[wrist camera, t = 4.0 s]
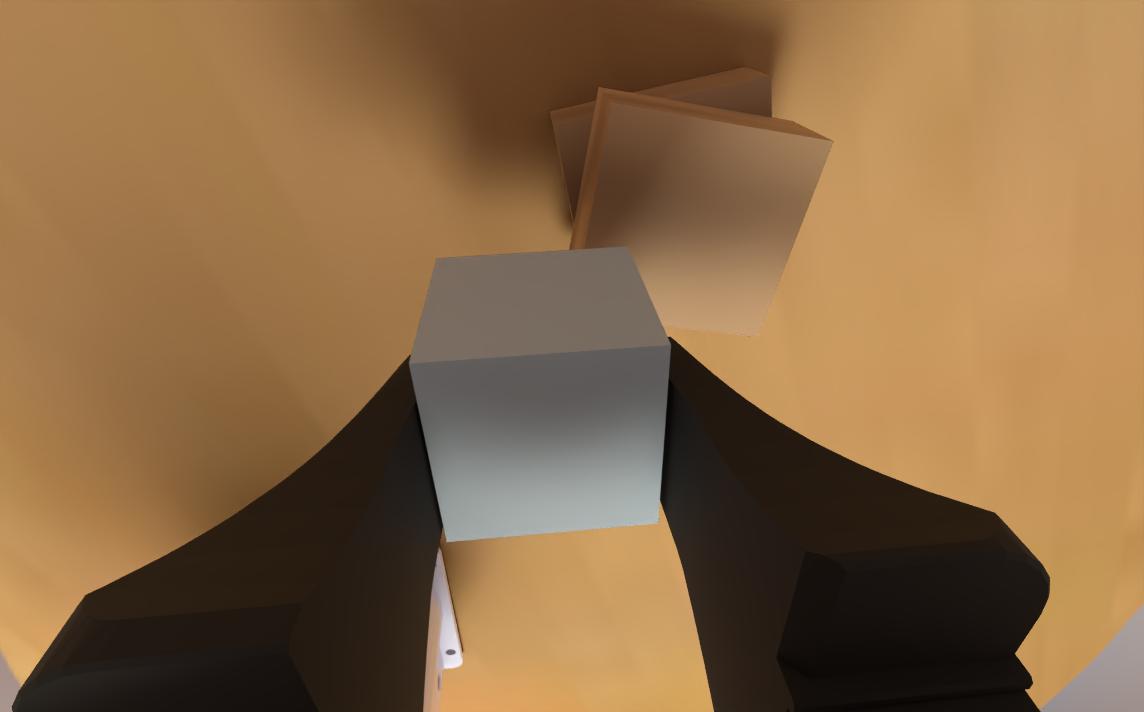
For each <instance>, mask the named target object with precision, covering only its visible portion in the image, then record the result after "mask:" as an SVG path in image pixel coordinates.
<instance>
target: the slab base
mask: <svg viewBox="0 0 1144 712" xmlns="http://www.w3.org/2000/svg"><path fill="white" fill-rule="evenodd" d="M631 93H636V94H642V95H647V96H653V97H659V98H664V99H670V100H676V101H681V102H687V103H693V104H698V105H704V106H710V107H715V108H721V109H726V110H732V111H738V112H743V113H749V114H755V115H760V116H766V117H772V111H771V75H768V74H766V73H763V72H760V71H757V70H754V69H751V68H749V67H746V66H745V67H741V68H736V69H732V70H727V71H723V72H719V73H714V74H710V75H706V76H701V77H697V78H692V79H688V80H684V81H679V82H675V83H671V84H666V85H662V86H658V87H653V88H649V89H644V90H640V91H636V92H631ZM595 104H596V101H592V102H588V103H583V104H579V105H575V106H570V107H566V108H561V109H557V110H553V111H550V116H551V121H552V126H553V131H554V136H555V140H556V145H557V150H558V155H559V160H560V165H561V170H562V174H563V179H564V184H565V189H566V194H567V199H568V204H569V209H570V213H571V218H572V223H573V226H574V221H575V215H576V210H577V204H578V199H579V193H580V187H581V182H582V176H583V171H584V165H585V159H586V154H587V148H588V143H589V137H590V132H591V126H592V120H593V115H594V109H595Z"/></svg>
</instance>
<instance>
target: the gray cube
mask: <svg viewBox="0 0 1144 712" xmlns="http://www.w3.org/2000/svg"><path fill="white" fill-rule="evenodd" d="M670 352H671V344H670V342H669V339H668V337H667V335H666V332H665V330H664V328H663V326H662V323H661V321H660V319H659V316H658V314H657V312H656V310H655V307H654V305H653V303H652V301H651V298H650V296H649V294H648V291H647V289H646V287H645V285H644V282H643V280H642V278H641V276H640V273H639V271H638V269H637V266H636V264H635V262H634V260H633V257H632V255H631V253H630V251H629V248H628V246H627V247H611V248H595V249H578V250H562V251H546V252H529V253H513V254H497V255H480V256H464V257H448V258H437V259H436V262H435V266H434V270H433V274H432V278H431V281H430V285H429V289H428V293H427V297H426V300H425V304H424V308H423V312H422V315H421V319H420V323H419V327H418V331H417V334H416V338H415V342H414V346H413V350H412V353H411V357H410V361H409V367H410V372H411V376H412V381H413V386H414V390H415V395H416V400H417V404H418V409H419V414H420V419H421V423H422V428H423V433H424V437H425V442H426V447H427V451H428V456H429V461H430V466H431V470H432V475H433V480H434V484H435V489H436V494H437V498H438V503H439V508H440V512H441V517H442V522H443V527H444V531H445V536H446V541H447V542H455V541H466V540H477V539H488V538H500V537H511V536H522V535H533V534H545V533H556V532H567V531H578V530H589V529H601V528H612V527H623V526H634V525H645V524H657V523H658V518H659V504H660V490H661V476H662V462H663V448H664V435H665V421H666V407H667V393H668V379H669V365H670Z"/></svg>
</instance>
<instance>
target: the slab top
mask: <svg viewBox="0 0 1144 712" xmlns="http://www.w3.org/2000/svg"><path fill="white" fill-rule="evenodd" d="M833 142H834V141H832V140H830V139H828V138H826V137H824V136H822V135H820V134H818V133H816V132H814V131H811V130H809V129H807V128H805V127H803V126H801V125H799V124H797V123H795V122H793V121H789V120H783V119H777V118H772V117H766V116H760V115H755V114H749V113H743V112H738V111H732V110H726V109H721V108H715V107H710V106H704V105H698V104H693V103H687V102H681V101H676V100H670V99H664V98H659V97H653V96H647V95H642V94H636V93H630V92H625V91H619V90H613V89H608V88H602V87H598V93H597V98H596V104H595V109H594V115H593V120H592V126H591V132H590V137H589V143H588V148H587V154H586V159H585V165H584V171H583V176H582V182H581V187H580V193H579V199H578V204H577V210H576V215H575V221H574V226H573V232H572V238H571V243H570V249H569V250H578V249H595V248H611V247H627V246H628V248H629V251H630V253H631V255H632V257H633V260H634V262H635V264H636V266H637V269H638V271H639V273H640V276H641V278H642V280H643V282H644V285H645V287H646V289H647V291H648V294H649V296H650V298H651V301H652V303H653V305H654V307H655V310H656V312H657V314H658V316H659V319H660V321H661V323H662V326H663V327H672V328H681V329H690V330H699V331H708V332H717V333H726V334H735V335H744V336H753V337H758V336H759V333H760V330H761V328H762V325H763V323H764V320H765V317H766V315H767V312H768V310H769V307H770V305H771V302H772V299H773V297H774V294H775V292H776V289H777V286H778V284H779V281H780V279H781V276H782V273H783V271H784V268H785V266H786V263H787V261H788V258H789V255H790V253H791V250H792V248H793V245H794V242H795V240H796V237H797V235H798V232H799V229H800V227H801V224H802V222H803V219H804V217H805V214H806V211H807V209H808V206H809V204H810V201H811V198H812V196H813V193H814V191H815V188H816V185H817V183H818V180H819V178H820V175H821V173H822V170H823V167H824V165H825V162H826V160H827V157H828V154H829V152H830V149H831V147H832V144H833Z"/></svg>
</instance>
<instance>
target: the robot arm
mask: <svg viewBox="0 0 1144 712" xmlns="http://www.w3.org/2000/svg"><path fill="white" fill-rule="evenodd" d="M668 339H669V342H670V344H671V352H670V365H669V379H668V393H667V407H666V421H665V435H664V448H663V462H662V476H661V490H660V501H661V504H662V507H663V510H664V513H665V516H666V518H667V521H668V524H669V527H670V530H671V533H672V536H673V539H674V541H675V544H676V547H677V550H678V554H679V557H680V560H681V564H682V567H683V571H684V575H685V579H686V584H687V588H688V592H689V596H690V601H691V605H692V609H693V614H694V618H695V623H696V627H697V632H698V636H699V641H700V646H701V650H702V655H703V659H704V664H705V669H706V674H707V679H708V684H709V688H710V693H711V698H712V703H713V708H714V712H1040V710H1039V709H1038V708H1037V706H1036V705H1035V703H1034V702H1033V701H1032V699H1031V698H1030V697H1029V695H1028V694H1027V692H1026V691H1025V689H1030V687H1031V686H1032V684H1033V681H1032V677H1031V675H1030V674H1029V672H1028V671H1027V670H1026V668H1025V667H1024V666H1023V664H1022V663H1021V662H1020V660H1019V659H1018V658H1017V656H1016V655H1015V653H1016V651H1017V650H1018V648H1019V647H1020V645H1021V644H1022V642H1023V641H1024V639H1025V638H1026V636H1027V635H1028V633H1029V632H1030V630H1031V629H1032V627H1033V626H1034V624H1035V623H1036V621H1037V620H1038V618H1039V617H1040V615H1041V613H1042V611H1043V609H1044V607H1045V605H1046V602H1047V600H1048V597H1049V593H1050V577H1049V575H1048V573H1047V572H1046V570H1045V568H1044V566H1043V565H1042V563H1041V562H1040V561H1039V560H1038V559H1037V558H1036V557H1035V556H1034V555H1033V554H1032V552H1031V551H1030V550H1029V549H1028V548H1027V547H1026V546H1025V545H1024V544H1023V543H1022V541H1021V540H1020V539H1019V538H1018V537H1017V536H1016V535H1015V534H1014V533H1013V531H1012V530H1011V529H1010V528H1009V527H1008V526H1007V525H1006V524H1005V523H1004V522H1003V521H1002V519H1001V518H1000V517H999V516H998V515H997V514H996V513H994V512H991V511H988V510H985V509H981V508H978V507H975V506H972V505H969V504H966V503H963V502H959V501H956V500H953V499H950V498H947V497H944V496H941V495H937V494H934V493H931V492H928V491H925V490H923V489H920V488H917V487H914V486H912V485H909V484H907V483H904V482H902V481H899V480H896V479H894V478H891V477H889V476H886V475H883V474H881V473H879V472H876V471H874V470H872V469H869V468H867V467H865V466H862V465H860V464H858V463H856V462H854V461H852V460H849V459H847V458H845V457H843V456H841V455H839V454H837V453H835V452H833V451H831V450H829V449H827V448H825V447H823V446H821V445H819V444H817V443H815V442H813V441H811V440H810V439H808V438H806V437H804V436H803V435H801V434H799V433H797V432H796V431H794V430H792V429H791V428H789V427H787V426H785V425H784V424H782V423H780V422H779V421H777V420H776V419H774V418H773V417H771V416H769V415H768V414H766V413H765V412H763V411H762V410H761V409H759V408H758V407H756V406H755V405H753V404H752V403H751V402H749V401H748V400H746V399H745V398H744V397H742V396H741V395H740V394H738V393H737V392H736V391H734V390H733V389H732V388H730V387H729V386H728V385H727V384H725V383H724V382H723V381H722V380H720V379H719V378H718V377H717V376H715V375H714V374H713V373H712V372H711V371H709V370H708V369H707V368H706V367H705V366H703V365H702V364H701V363H700V362H699V361H698V360H697V359H695V358H694V357H693V356H692V355H691V354H690V353H689V352H687V351H686V350H685V349H684V348H683V347H682V346H681V345H680V344H678V343H677V342H676V341H675V340H674V339H673V338H671V337H668ZM410 357H411V355H409V357H408V358H407V359H406V360H405V361H404V362H403V363H402V364H401V365H400V366H399V368H398V369H397V370H396V371H395V372H394V373H393V375H392V376H391V377H390V378H389V379H388V380H387V382H386V383H385V384H384V385H383V386H382V387H381V389H380V390H379V391H378V392H377V393H376V394H375V395H374V397H373V398H372V399H371V400H370V401H369V402H368V403H367V404H366V405H365V406H364V408H363V409H362V410H361V411H360V412H359V413H358V414H357V415H356V416H355V417H354V418H353V419H352V420H351V421H350V422H349V423H348V424H347V425H346V426H345V427H344V428H343V429H342V430H341V431H340V432H339V433H338V434H337V435H336V436H335V437H334V438H333V439H332V440H331V441H330V442H329V443H328V444H327V445H326V446H325V447H323V448H322V449H321V450H320V451H319V452H318V453H317V454H315V455H314V456H313V457H312V458H311V459H310V460H308V461H307V462H306V463H305V464H304V465H302V466H301V467H300V468H299V469H297V470H296V471H295V472H294V473H292V474H291V475H290V476H289V477H287V478H286V479H285V480H283V481H282V482H281V483H279V484H278V485H277V486H275V487H274V488H272V489H271V490H269V491H268V492H266V493H265V494H264V495H262V496H261V497H259V498H258V499H256V500H255V501H254V502H252V503H251V504H249V505H248V506H246V507H245V508H243V509H242V510H241V511H239V512H238V513H236V514H235V515H233V516H232V517H230V518H228V519H227V520H225V521H224V522H222V523H220V524H219V525H217V526H215V527H214V528H212V529H211V530H209V531H207V532H206V533H204V534H202V535H200V536H199V537H197V538H195V539H193V540H192V541H190V542H188V543H186V544H185V545H183V546H181V547H180V548H178V549H176V550H174V551H172V552H170V553H169V554H167V555H165V556H163V557H161V558H159V559H157V560H155V561H153V562H151V563H149V564H147V565H146V566H144V567H142V568H140V569H138V570H136V571H134V572H132V573H130V574H128V575H126V576H124V577H122V578H120V579H118V580H116V581H114V582H112V583H110V584H108V585H106V586H104V587H102V588H100V589H97V590H95V591H93V592H91V593H89V594H87V595H85V597H84V598H83V599H82V601H81V602H80V603H79V605H78V606H77V608H76V609H75V611H74V612H73V613H72V615H71V616H70V618H69V619H68V621H67V622H66V624H65V625H64V626H63V628H62V629H61V631H60V632H59V634H58V635H57V637H56V638H55V639H54V641H53V642H52V644H51V645H50V647H49V648H48V650H47V651H46V652H45V654H44V655H43V657H42V658H41V660H40V661H39V663H38V664H37V665H36V667H35V668H34V670H33V671H32V673H31V674H30V676H29V677H28V678H27V680H26V681H25V683H24V684H23V686H22V687H21V689H20V690H19V692H18V694H17V696H16V699H15V701H14V703H13V705H12V711H13V712H439V711H440V701H441V691H442V680H443V670H444V669H447V668H455V667H459V666H460V665H461V664H462V663H463V653H462V648H461V644H460V639H459V634H458V629H457V624H456V620H455V615H454V610H453V605H452V600H451V596H450V591H449V586H448V581H447V576H446V572H445V567H444V562H443V557H442V552H441V550H440V548H439V544H440V539H441V534H442V528H443V522H442V517H441V512H440V508H439V503H438V498H437V494H436V489H435V484H434V480H433V475H432V470H431V466H430V461H429V456H428V451H427V447H426V442H425V437H424V433H423V428H422V423H421V419H420V414H419V409H418V404H417V400H416V395H415V390H414V386H413V381H412V376H411V372H410V367H409V361H410Z"/></svg>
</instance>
